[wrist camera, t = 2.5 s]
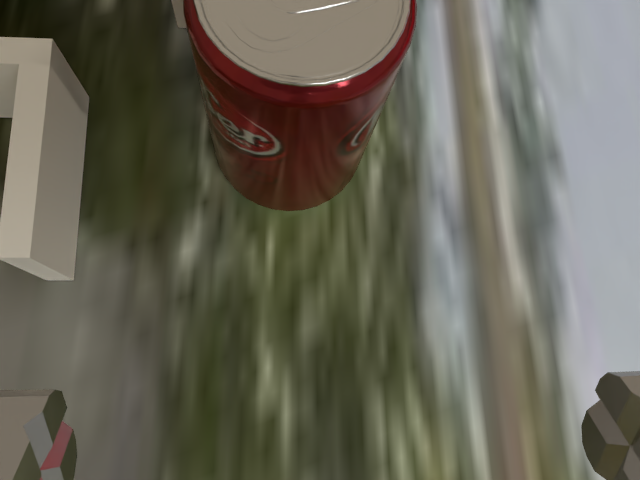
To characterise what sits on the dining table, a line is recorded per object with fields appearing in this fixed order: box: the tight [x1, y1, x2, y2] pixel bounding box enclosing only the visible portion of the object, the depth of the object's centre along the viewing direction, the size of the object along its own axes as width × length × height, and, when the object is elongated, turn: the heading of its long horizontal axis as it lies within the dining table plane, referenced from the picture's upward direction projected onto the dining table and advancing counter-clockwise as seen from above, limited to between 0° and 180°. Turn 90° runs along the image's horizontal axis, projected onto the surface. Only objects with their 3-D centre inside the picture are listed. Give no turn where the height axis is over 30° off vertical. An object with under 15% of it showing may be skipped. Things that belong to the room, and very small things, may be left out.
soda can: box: [183, 0, 417, 211], centre depth 23 cm, size 7×7×12 cm
